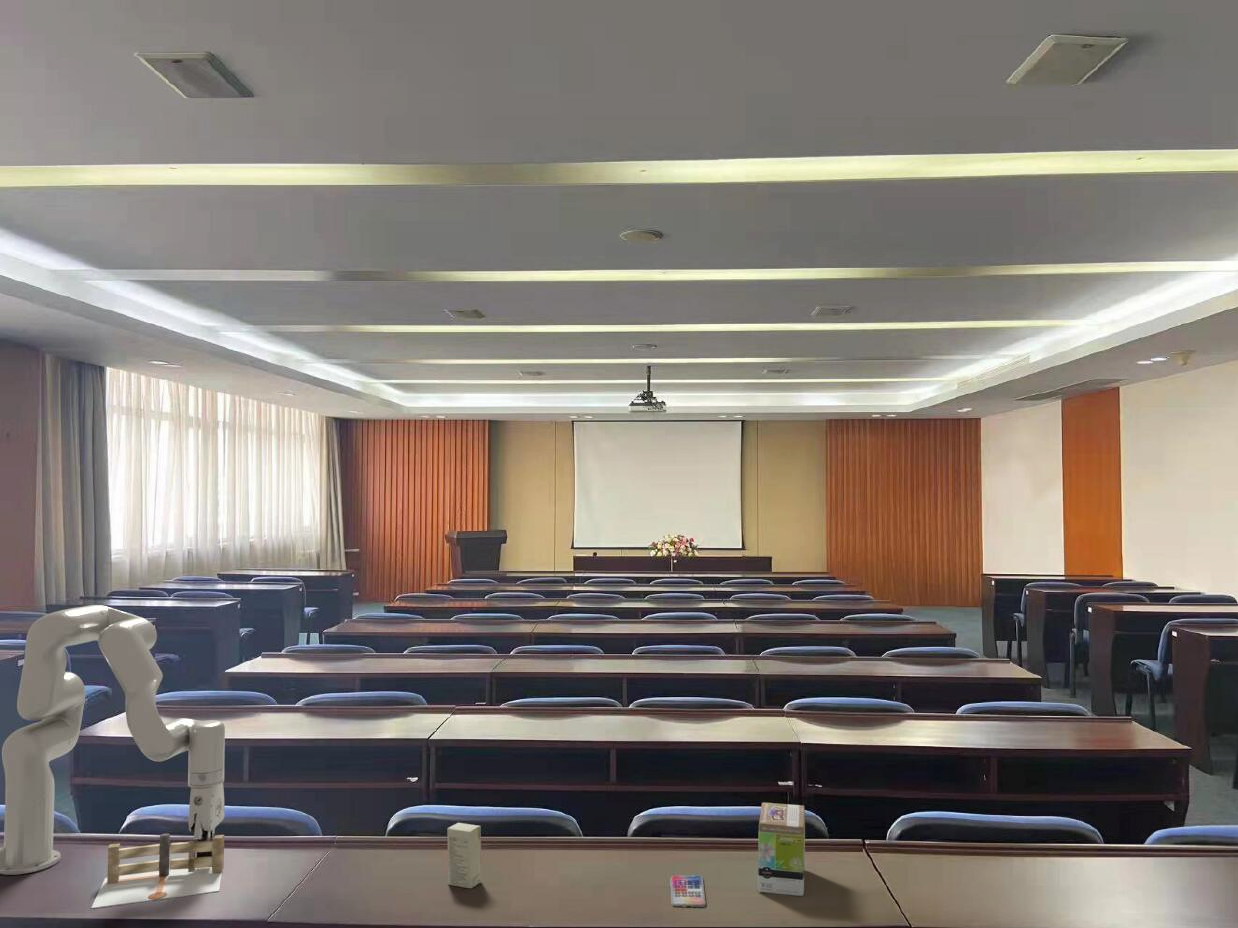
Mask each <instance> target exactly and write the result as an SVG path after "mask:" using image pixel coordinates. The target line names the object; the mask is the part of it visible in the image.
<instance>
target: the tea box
mask: <svg viewBox="0 0 1238 928" xmlns="http://www.w3.org/2000/svg"><path fill="white" fill-rule="evenodd" d="M760 807H761V809H760V815H759V816H760V817H759V823H758V854H757V855H758V859H757V860H758V863H757V864H758V867H757V868H758V869H757V892H760V893H766V894H776V895H786V896H787V895H789V896H796V897H797V896H799V897H803V895H804V894H805V892H804V891H805V868H806V867H805V864H806V859H805V858H806V817H805V816H806V815H805V805H800V804H789V803H787V804H786V803H776V802H775V803H773V802H761V806H760Z"/></svg>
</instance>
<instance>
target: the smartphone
mask: <svg viewBox="0 0 1238 928" xmlns="http://www.w3.org/2000/svg"><path fill="white" fill-rule="evenodd" d="M669 878H670V879H669V885H670V886H669V887H671V888H670V906H671V905H673V906H684V907H683V908H687V907H690V906H691V908H692V907H703V908H705V907H706V906H707V902H706V900H707V899H706V894H705V893H706V892H705V882H704V877H703V876H701V875H672V876H670V877H669ZM673 906H672V907H673Z"/></svg>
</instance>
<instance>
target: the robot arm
mask: <svg viewBox="0 0 1238 928" xmlns="http://www.w3.org/2000/svg"><path fill="white" fill-rule="evenodd" d="M28 629H29V630H28V632H27V635H26V638H25V647H24V648H25V649H24V651H25V652H24V660H23V666H22V671H21V677H20V681H19V688H18V694H17V700H16V701H17V702H16V709H17V712H18V713H17V714H18V715H19V717H21V718H22V719H24V720H26V721H34V722H33V723H31V724H29V725H26V726H23V727H21V728H18V729H16V730H15V731H13V732H12V733H11V734H10V735H8V737H7V738H6V739H5V740H4V742H3V745H2V749H1V760H2V765H3V770H4V777H5V792H4V793H5V796H4V797H5V798H4V799H5V805H4V807H5V808H4V830H3V831H4V832H3V833H4V835H3V837H4V838H3V846H1V847H0V875H6V876H7V875H8V876H9V875H10V876H12V875H13V876H15V875H24V874H29V873H30V874H31V873H34V872H38V871H42V870H45V869H47V868H50V867H52V866H54V865H55V864H57V863H58V862H59V861H60V860H61V852H60V851H58V850H55V849H54V825H55V824H54V823H55V821H54V820H55V818H54V817H55V786H56V785H55V778H54V774H53V772H52V769H51V767H50V762H51V761H53V760H55V759H57V758H60V757H62V756H65V755H66V754H68V753H70V751H72V750H73V748H74V747H75V746H76V744H77V742H78V739H79V736H80V733H81V727H82V721H83V715H84V713H83V712H84V707H85V701H86V688H85V685H84V682H83V680H82V679H81V677H79V675H77V674H76V673H73V672H71V671H66V668H67V662H68V659H67V653H66V650H65V648H66V647H70V646H76V645H80V644H85V643H90V642H93V641H94V642H95V641H97V642H98V647H99V649H100V651H101V653H102V655H103V657H104V659H105V660H106V661H107V663H108V665H109V667H110V669H111V671H112V673H113V674H114V677H115V678H116V680H117V681H118V683H119V685H120V686H121V688H122V690H123V692H124V695H125V704H124V706H125V707H124V708H125V718H126V724H127V725H126V726H127V728H128V730H129V732H130V734H131V737H132V738H133V740H134V742H135V744H136V745H137V747H138V749H139V750H140V751H141V753H142V754H143V755H144V756H145V757H146V758H147V759H149V760H151V761H153V762H164V761H166V760H167V761H168V760H169V759H171V758H173V757H174V756H177V755H179V754H182V753H184V752H186V751H187V752H188V763H187V764H188V765H187V766H188V768H187V770H188V771H187V772H188V773H187V786H188V787H189V788H190V794H189V795H190V796H189V808H188V830H189V832H190V833H194V834H193V840H195V841H196V842H199V841H213V837H214V836H215V830H216V827H217V826H219V825H220V823H222V822H223V820H224V819H225V791H224V782H225V750H226V749H225V747H226V742H225V741H226V740H225V739H226V736H225V735H226V729H225V727H226V726H225V724H224V722H222V721H220V720H216V719H209V720H207V719H206V720H197V719H193V718H187V717H181V718H175V719H173V720H171V721H168V722H166V723H164V721H163V719H162V718H161V716H160V714H159V711H158V708H157V704H156V703H157V702H156V697H157V692H158V689H159V687H160V684H161V682H162V680H163V677H164V675H163V672H162V670H161V668H160V666H159V665H158V663H157V661H156V660H155V658H154V656H153V655H152V653H151V651H150V650H151V649H152V648H153V647H154V646H155V644H156V642H157V639H158V638H157V637H158V634H157V633H158V632H157V630H156V628H155V626H154V625H153V623H152V622H151V621H149V620H148V619H145V618H144V617H142V616H138V615H135V614H133V613H129V612H126V611H122V610H119V609H116V608H114V607H109V606H107V605H100V604H92V605H91V604H90V605H84V606H80V607H79V606H78V607H72V608H68V609H67V608H66V609H62V610H58V611H57V610H56V611H54V612H50V613H47V614H45V615H43V616H41V617H39V618H37V619H36V620H35V621H34V622H33V623H32V625H30V628H28ZM35 721H36V722H35ZM196 857H212V851H210V852H196Z"/></svg>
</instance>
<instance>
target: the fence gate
mask: <svg viewBox="0 0 1238 928" xmlns="http://www.w3.org/2000/svg"><path fill="white" fill-rule="evenodd" d="M210 851H212V857H196V852H210ZM170 854H171V855H172V854H173V855H174V854H188V857H181V858H179V857H178V858H170V859H169V870H175V869H188V872H194V871H195V868H208V867H212V873H214V872H222V873H223V871H224V868H225V867H224V866H225V860H224V859H225V834H214V837H213V841H199V842H196V840H189V841H185V842H172V843H171V842H170ZM170 854H169V855H170Z"/></svg>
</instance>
